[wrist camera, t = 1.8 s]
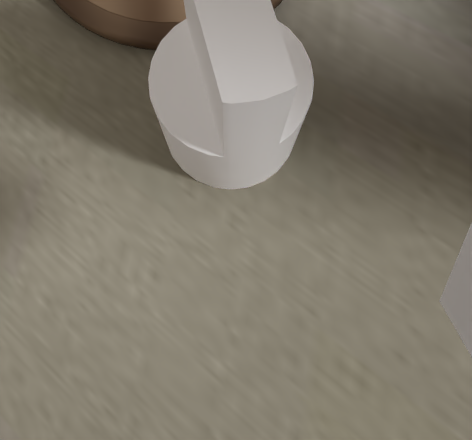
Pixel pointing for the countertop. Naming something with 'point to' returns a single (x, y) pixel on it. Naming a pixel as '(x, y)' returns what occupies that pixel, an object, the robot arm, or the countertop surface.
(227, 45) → the cylinder with rectangular tab
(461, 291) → the robot arm
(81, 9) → the board
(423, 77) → the countertop surface
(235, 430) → the countertop surface
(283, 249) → the countertop surface
